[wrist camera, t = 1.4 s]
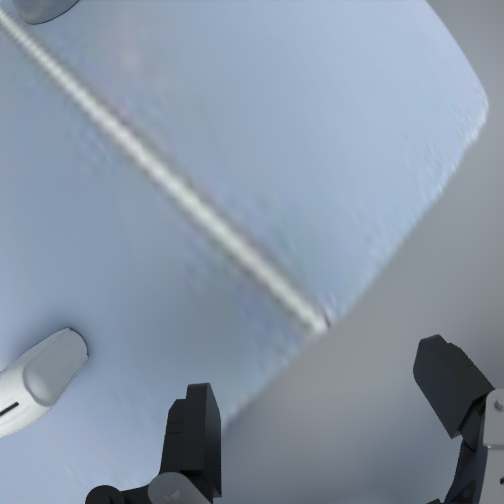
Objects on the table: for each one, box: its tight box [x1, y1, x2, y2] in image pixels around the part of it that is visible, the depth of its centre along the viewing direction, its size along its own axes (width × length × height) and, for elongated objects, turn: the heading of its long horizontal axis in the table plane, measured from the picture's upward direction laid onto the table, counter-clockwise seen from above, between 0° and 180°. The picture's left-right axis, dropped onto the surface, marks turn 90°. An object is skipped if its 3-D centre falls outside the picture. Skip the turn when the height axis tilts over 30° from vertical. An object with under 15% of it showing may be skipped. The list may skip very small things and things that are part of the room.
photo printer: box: [0, 328, 88, 437], centre depth 18 cm, size 10×4×12 cm, turn 120°
